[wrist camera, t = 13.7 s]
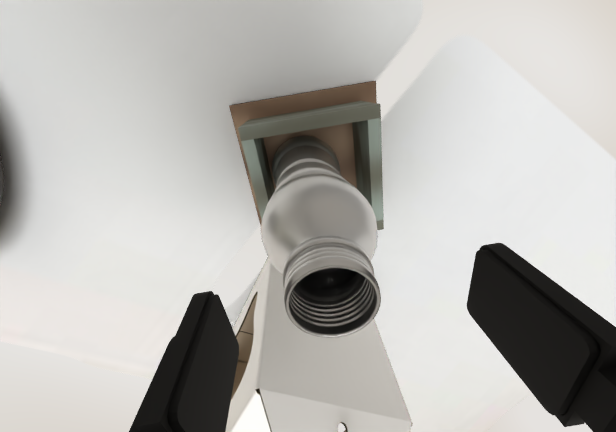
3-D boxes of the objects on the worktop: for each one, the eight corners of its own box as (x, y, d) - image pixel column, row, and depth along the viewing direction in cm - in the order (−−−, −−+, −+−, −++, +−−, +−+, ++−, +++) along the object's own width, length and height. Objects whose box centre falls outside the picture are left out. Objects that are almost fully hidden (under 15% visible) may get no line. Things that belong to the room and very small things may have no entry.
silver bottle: (307, 117, 26) (349, 183, 8) (348, 168, 28) (451, 308, 10) (260, 159, 27) (201, 298, 9) (302, 204, 30) (321, 382, 12)
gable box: (295, 374, 44) (302, 746, 19) (219, 356, 41) (109, 771, 16) (361, 278, 36) (525, 707, 11) (272, 246, 33) (218, 744, 8)
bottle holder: (231, 105, 26) (212, 110, 19) (372, 81, 25) (399, 78, 19) (263, 228, 32) (256, 263, 25) (377, 209, 32) (399, 239, 25)
